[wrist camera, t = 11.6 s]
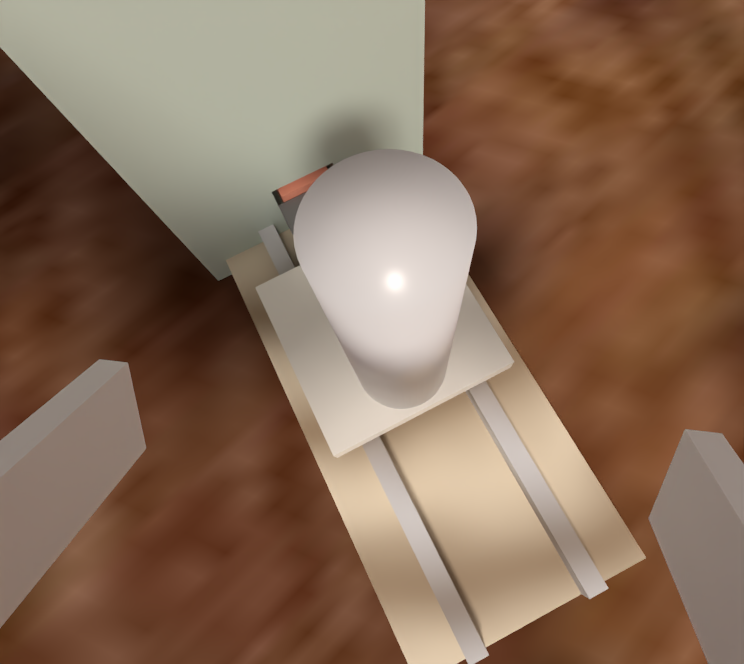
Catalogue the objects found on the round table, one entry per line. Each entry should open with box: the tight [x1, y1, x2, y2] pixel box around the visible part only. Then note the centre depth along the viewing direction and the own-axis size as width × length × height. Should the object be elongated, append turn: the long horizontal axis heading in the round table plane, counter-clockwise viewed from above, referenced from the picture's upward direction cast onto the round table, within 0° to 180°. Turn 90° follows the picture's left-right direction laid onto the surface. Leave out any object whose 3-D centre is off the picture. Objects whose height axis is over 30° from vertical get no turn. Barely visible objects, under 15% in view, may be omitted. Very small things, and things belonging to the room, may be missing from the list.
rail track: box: [226, 225, 646, 664], centre depth 23 cm, size 20×10×2 cm, turn 27°
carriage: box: [255, 149, 514, 458], centre depth 17 cm, size 11×8×12 cm
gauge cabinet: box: [0, 0, 425, 281], centre depth 20 cm, size 5×12×17 cm, turn 117°
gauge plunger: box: [277, 166, 328, 203], centre depth 25 cm, size 4×2×2 cm, turn 27°
